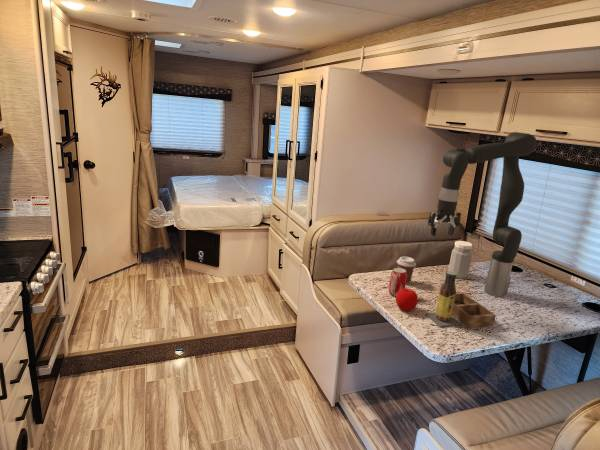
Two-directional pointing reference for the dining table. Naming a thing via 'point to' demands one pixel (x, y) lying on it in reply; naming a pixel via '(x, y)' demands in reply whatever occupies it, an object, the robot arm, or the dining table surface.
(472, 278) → the dining table surface
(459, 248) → the jar
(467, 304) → the caddy
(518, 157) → the robot arm
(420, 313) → the dining table surface
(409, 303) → the fruit
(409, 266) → the coffee cup
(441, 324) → the coaster
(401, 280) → the soda can
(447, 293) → the sauce bottle
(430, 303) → the dining table surface
